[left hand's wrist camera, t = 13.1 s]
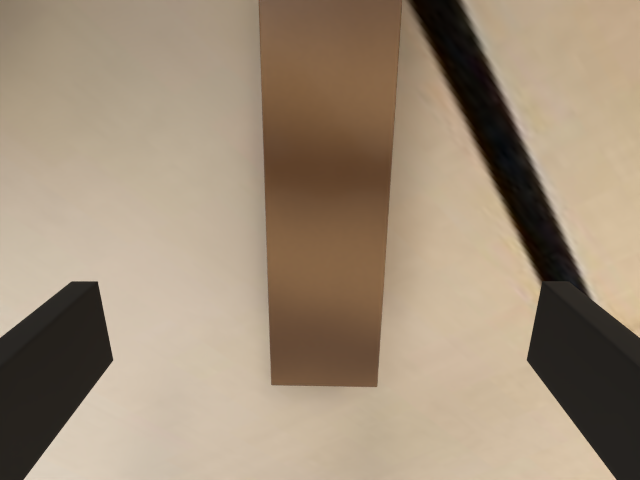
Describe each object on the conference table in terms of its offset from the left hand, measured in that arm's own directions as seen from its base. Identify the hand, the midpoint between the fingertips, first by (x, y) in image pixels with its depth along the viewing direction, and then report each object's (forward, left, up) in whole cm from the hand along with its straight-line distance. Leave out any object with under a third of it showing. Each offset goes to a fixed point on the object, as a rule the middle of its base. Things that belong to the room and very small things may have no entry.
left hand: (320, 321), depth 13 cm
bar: (-2, +22, -15) cm, 27 cm away
